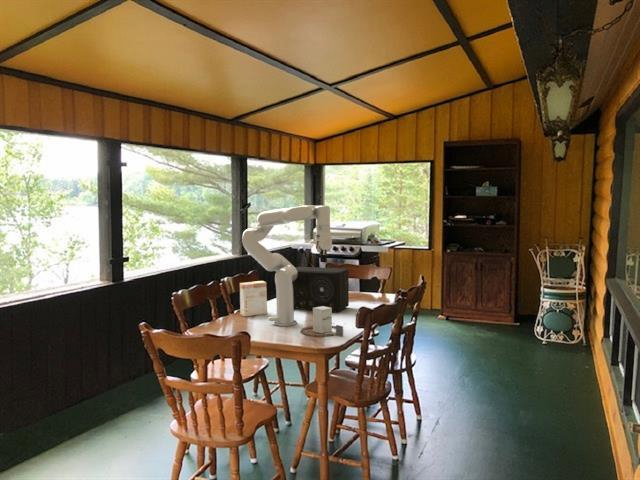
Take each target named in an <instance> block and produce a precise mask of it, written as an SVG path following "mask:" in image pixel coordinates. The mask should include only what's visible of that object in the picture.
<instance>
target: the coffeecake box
mask: <svg viewBox="0 0 640 480" xmlns="http://www.w3.org/2000/svg"><path fill="white" fill-rule="evenodd" d="M267 290H268V289H267V281H264V280H257V281H248V282H247V281H246V282H239V305H240V307H239V308H240V309H239V310H240V315H241V316H243V317H250V316H251V317H252V316H259V315H267V314H268V298H267V296H268V294H267Z"/></svg>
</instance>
